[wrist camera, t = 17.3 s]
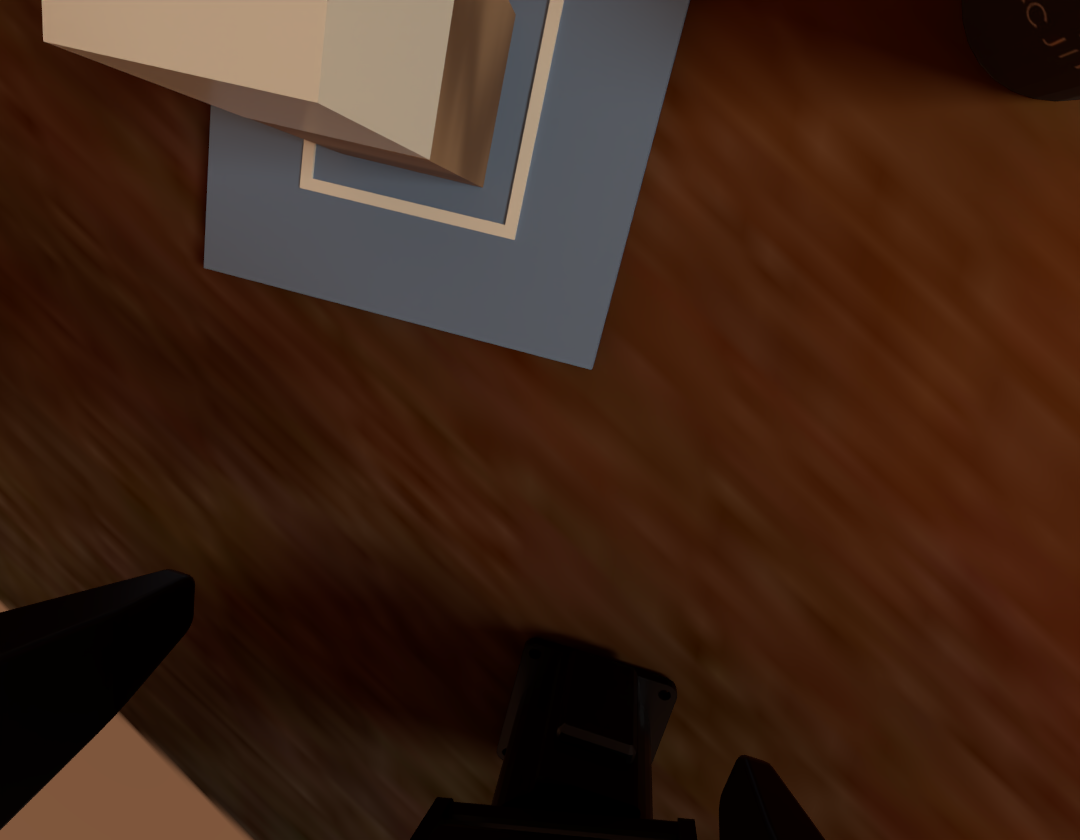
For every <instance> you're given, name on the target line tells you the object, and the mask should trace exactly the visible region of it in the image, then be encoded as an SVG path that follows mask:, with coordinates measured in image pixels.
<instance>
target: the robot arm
mask: <svg viewBox="0 0 1080 840" xmlns="http://www.w3.org/2000/svg"><path fill="white" fill-rule="evenodd" d="M194 594H195V581H194V579H193V577H191V576H190V575H188V574H184V573H181V572H178V571H175V570H170V569H167V570H162V571H158V572H155V573H151V574H147V575H143V576H139V577H135V578H131V579H128V580H124V581H120V582H116V583H112V584H108V585H105V586H101V587H97V588H93V589H89V590H85V591H81V592H78V593H74V594H70V595H66V596H62V597H58V598H55V599H51V600H47V601H43V602H39V603H35V604H32V605H28V606H24V607H20V608H16V609H12V610H8V611H5V612H1V613H0V830H1V829H2V828H3V827H4V826H5V825H6V824H7V823H8V822H9V821H10V820H11V819H12V818H13V817H14V816H15V815H16V814H17V813H18V812H19V811H20V810H21V809H22V808H23V807H24V806H25V805H26V804H27V803H28V802H29V801H30V800H31V799H32V798H33V797H34V796H35V795H36V794H37V793H38V792H39V791H40V790H41V789H42V788H43V787H44V786H45V785H46V784H47V783H48V782H49V781H50V780H51V779H52V778H53V777H54V776H55V775H56V774H57V773H58V772H59V771H60V770H61V769H62V768H63V767H64V766H65V765H66V764H67V763H68V762H69V761H70V760H71V759H72V758H73V757H74V756H75V755H76V754H77V753H78V752H79V751H80V750H82V749H83V748H84V746H85V745H87V743H89V742H90V741H91V740H92V739H93V738H94V737H95V735H97V734H98V733H99V732H100V730H102V729H103V728H104V727H105V725H106V724H107V723H108V722H109V721H110V720H111V719H112V718H113V717H114V716H115V715H116V714H117V713H118V712H119V711H120V710H121V708H122V707H123V706H124V705H125V704H126V703H127V702H128V701H129V699H130V698H131V697H132V696H133V695H134V693H135V692H136V691H137V690H138V689H139V688H140V686H141V685H142V684H143V683H144V682H145V681H146V679H147V678H148V677H149V676H150V675H151V674H152V672H153V671H154V670H155V669H156V668H157V666H158V665H159V664H160V663H161V662H162V661H163V659H164V658H165V657H166V656H167V655H168V654H169V652H170V651H171V650H172V649H173V648H174V646H175V645H176V644H177V643H178V642H179V641H180V639H181V638H182V637H183V636H184V635H185V633H186V632H187V631H188V629H189V627H190V625H191V623H192V620H193V615H194ZM532 649H537V650H539V651H540V653H535V652H533V651H532ZM661 690H667V691H669V692H668V693H661V692H660V691H661ZM676 699H677V689H676V686H675V684H674V682H673V681H671V680H669V679H667V678H664V677H661V676H658V675H655V674H651V673H648V672H645V671H642V670H639V669H636V668H632V667H629V666H626V665H623V664H620V663H616V662H613V661H610V660H607V659H604V658H601V657H597V656H594V655H591V654H588V653H585V652H581V651H578V650H575V649H572V648H569V647H565V646H562V645H559V644H556V643H553V642H550V641H546V640H543V639H540V638H531V639H529V640H528V641H527V642H526V644H525V647H524V650H523V654H522V658H521V662H520V665H519V669H518V673H517V677H516V680H515V684H514V688H513V691H512V695H511V699H510V703H509V706H508V710H507V714H506V717H505V721H504V725H503V729H502V732H501V736H500V740H499V743H498V747H497V754H498V756H499V757H500V758H501V759H502V760H503V764H502V767H501V771H500V775H499V779H498V782H497V786H496V790H495V793H494V797H493V801H492V804H491V805H484V804H473V803H461V802H454V801H453V799H452V798H442V797H437V798H436V799H435V801H434V803H433V804H432V806H431V807H430V809H429V810H428V812H427V814H426V815H425V817H424V818H423V820H422V821H421V823H420V825H419V826H418V828H417V829H416V831H415V832H414V834H413V835H412V837H411V839H410V840H697V834H696V827H695V820H694V819H684V818H678V822H677V821H666V820H655V819H653V807H652V771H651V764H652V762H653V759H654V756H655V754H656V751H657V749H658V746H659V743H660V741H661V738H662V736H663V733H664V730H665V728H666V725H667V723H668V720H669V717H670V715H671V712H672V710H673V707H674V704H675V702H676ZM506 748H507V749H506ZM719 833H720V840H825V839H824V837H823V836H822V835H821V833H820V832H819V830H818V829H817V828H816V826H815V825H814V824H813V822H812V821H811V819H810V818H809V817H808V815H807V814H806V813H805V811H804V810H803V808H802V807H801V806H800V804H799V803H798V801H797V800H796V799H795V797H794V796H793V795H792V793H791V792H790V790H789V789H788V788H787V786H786V785H785V784H784V782H783V781H782V779H781V778H780V777H779V775H778V774H777V772H776V771H775V770H774V768H773V767H772V766H771V765H770V764H769V763H767V762H765V761H763V760H760V759H757V758H753V757H750V756H747V755H741V756H740V757H739V758H738V759H737V760H736V762H735V765H734V767H733V769H732V771H731V774H730V776H729V778H728V780H727V783H726V785H725V787H724V789H723V792H722V794H721V798H720V805H719Z"/></svg>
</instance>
